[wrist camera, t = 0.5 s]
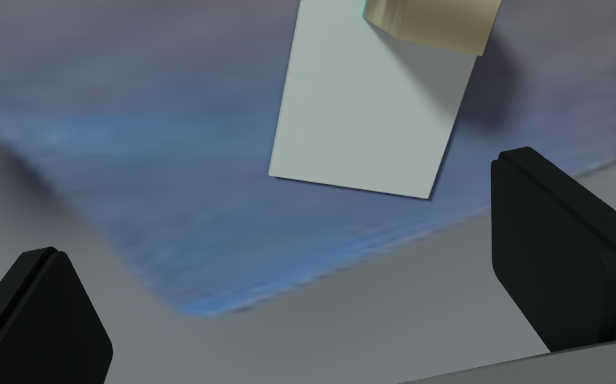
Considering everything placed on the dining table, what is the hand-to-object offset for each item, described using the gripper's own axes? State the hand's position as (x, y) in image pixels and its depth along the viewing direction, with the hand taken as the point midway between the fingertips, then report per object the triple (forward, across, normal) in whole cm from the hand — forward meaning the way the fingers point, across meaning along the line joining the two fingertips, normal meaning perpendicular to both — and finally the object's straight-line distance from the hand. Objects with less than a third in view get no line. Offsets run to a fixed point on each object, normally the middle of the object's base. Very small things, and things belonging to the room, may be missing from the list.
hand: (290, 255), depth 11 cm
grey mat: (+29, -8, +3) cm, 30 cm away
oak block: (+28, -10, -1) cm, 30 cm away
